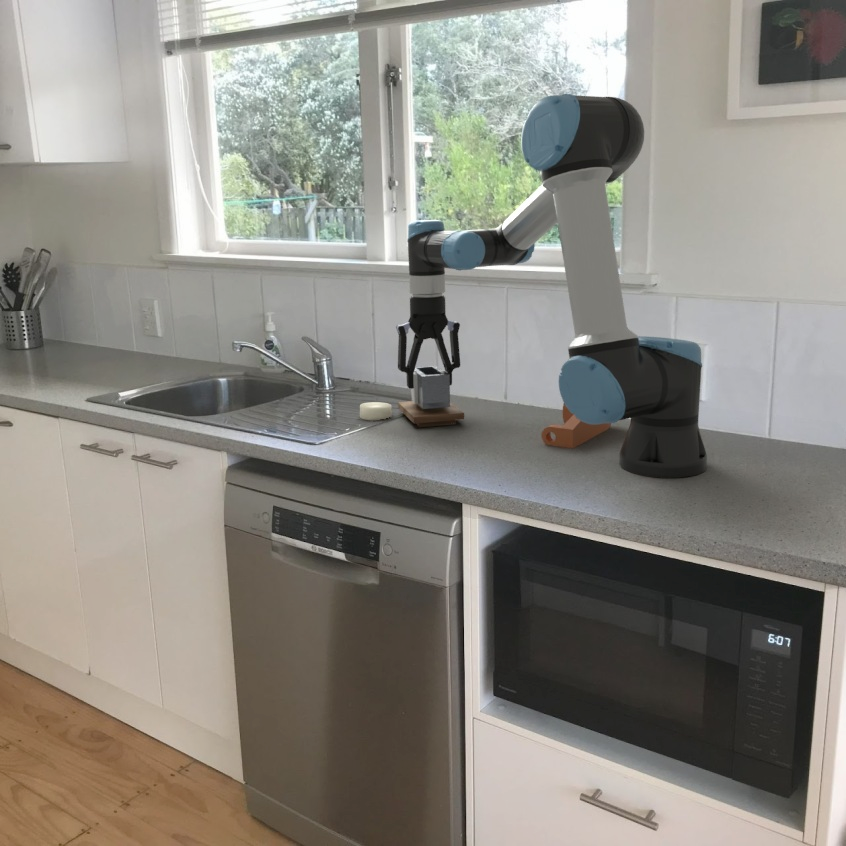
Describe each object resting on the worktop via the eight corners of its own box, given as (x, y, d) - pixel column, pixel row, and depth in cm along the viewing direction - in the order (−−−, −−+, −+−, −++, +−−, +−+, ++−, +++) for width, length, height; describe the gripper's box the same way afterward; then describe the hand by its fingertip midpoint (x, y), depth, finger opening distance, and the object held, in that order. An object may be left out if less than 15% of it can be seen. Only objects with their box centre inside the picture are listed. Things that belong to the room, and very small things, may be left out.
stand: (464, 426, 195) (464, 412, 194) (414, 430, 193) (413, 417, 192) (445, 411, 209) (445, 398, 209) (398, 415, 207) (397, 402, 206)
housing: (436, 396, 206) (436, 365, 204) (450, 406, 195) (449, 374, 194) (410, 398, 204) (409, 367, 203) (422, 409, 194) (421, 376, 192)
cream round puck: (397, 417, 206) (397, 404, 205) (381, 423, 199) (382, 410, 199) (369, 413, 209) (370, 400, 208) (354, 419, 203) (354, 406, 202)
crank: (578, 422, 197) (579, 386, 195) (613, 427, 193) (614, 389, 191) (535, 444, 181) (535, 405, 179) (572, 449, 177) (573, 409, 175)
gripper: (465, 290, 200) (466, 394, 206) (379, 295, 196) (383, 401, 201) (475, 294, 193) (476, 401, 199) (387, 299, 189) (390, 408, 194)
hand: (429, 401), depth 200 cm, fingers closed on housing, 6 cm apart
